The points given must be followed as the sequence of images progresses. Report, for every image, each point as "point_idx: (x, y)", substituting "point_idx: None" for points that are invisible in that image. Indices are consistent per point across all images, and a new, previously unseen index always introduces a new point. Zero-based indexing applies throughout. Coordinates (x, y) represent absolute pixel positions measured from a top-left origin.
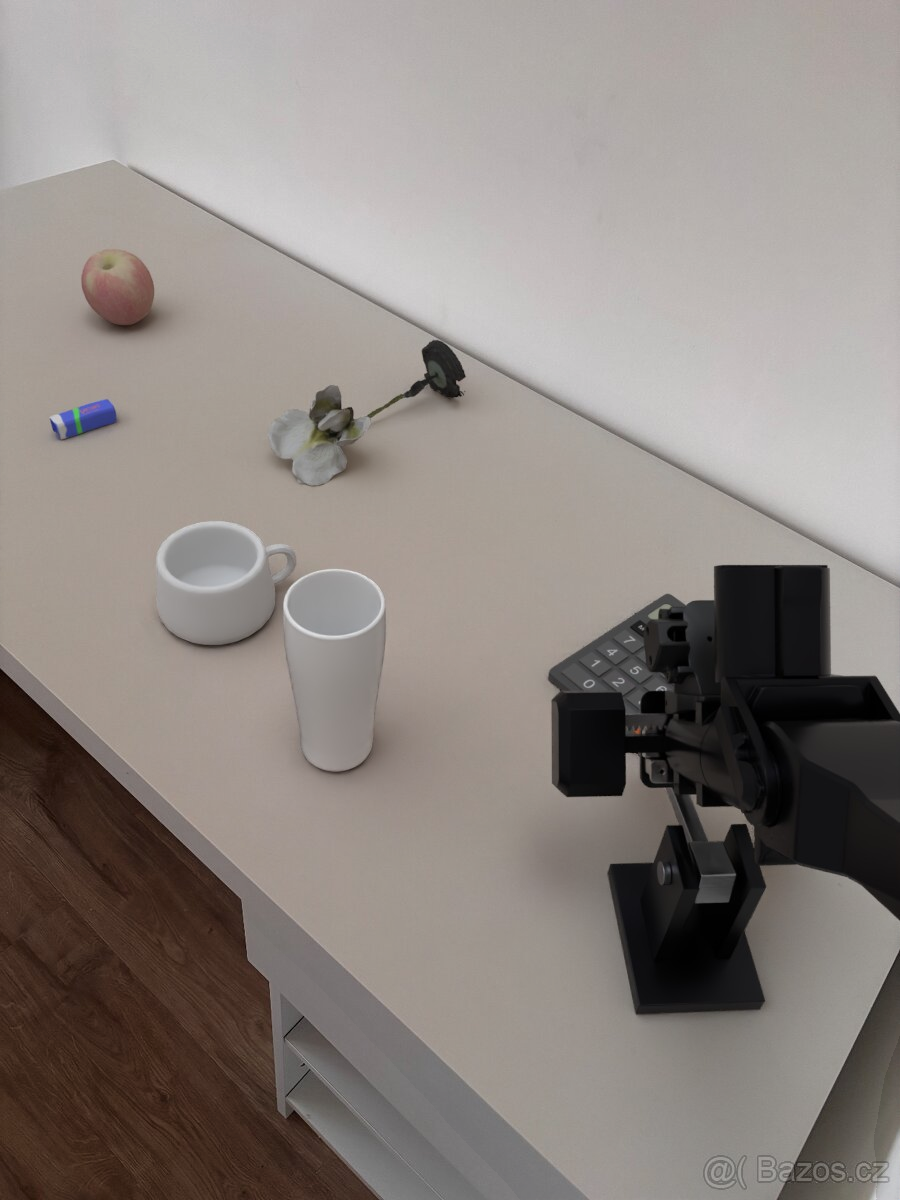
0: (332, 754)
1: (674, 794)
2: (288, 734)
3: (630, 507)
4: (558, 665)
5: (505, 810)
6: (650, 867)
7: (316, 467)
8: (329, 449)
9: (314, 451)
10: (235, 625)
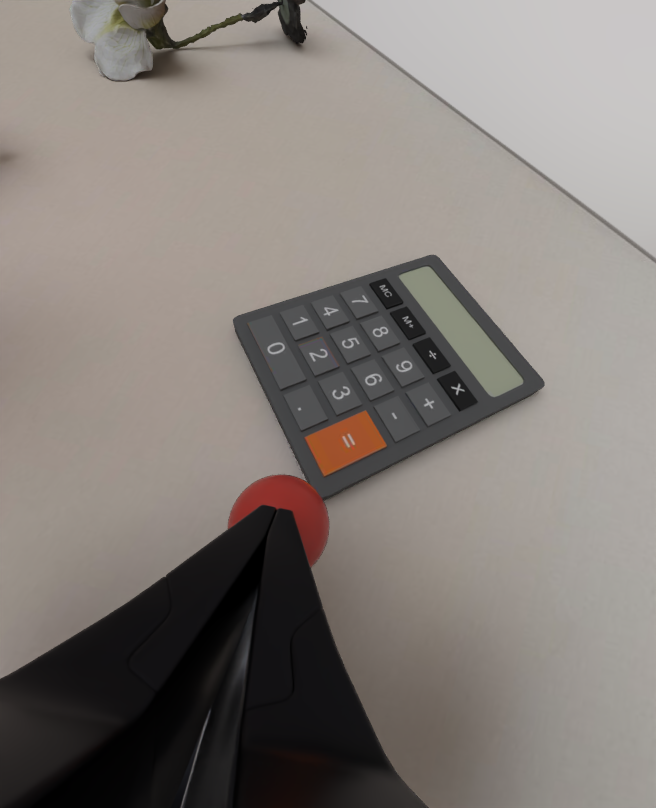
0: None
1: (188, 786)
2: None
3: (429, 163)
4: (250, 313)
5: (46, 526)
6: (195, 751)
7: (117, 58)
8: (135, 40)
9: (117, 38)
10: None
